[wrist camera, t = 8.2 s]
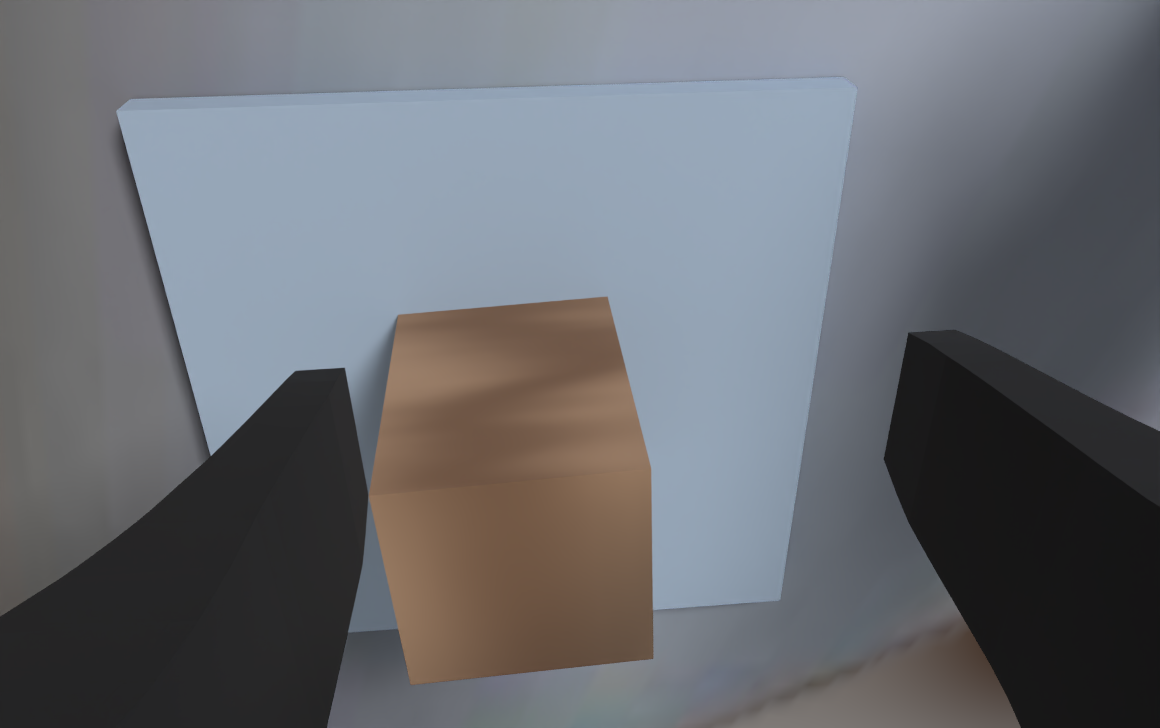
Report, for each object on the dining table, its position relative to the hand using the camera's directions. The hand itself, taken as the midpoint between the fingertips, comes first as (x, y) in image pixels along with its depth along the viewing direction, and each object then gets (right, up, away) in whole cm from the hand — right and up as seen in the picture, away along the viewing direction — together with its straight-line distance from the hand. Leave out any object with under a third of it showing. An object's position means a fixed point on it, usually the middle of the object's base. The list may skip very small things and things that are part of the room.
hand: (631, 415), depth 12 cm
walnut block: (-2, 0, +9) cm, 9 cm away
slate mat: (-2, 0, +10) cm, 10 cm away
